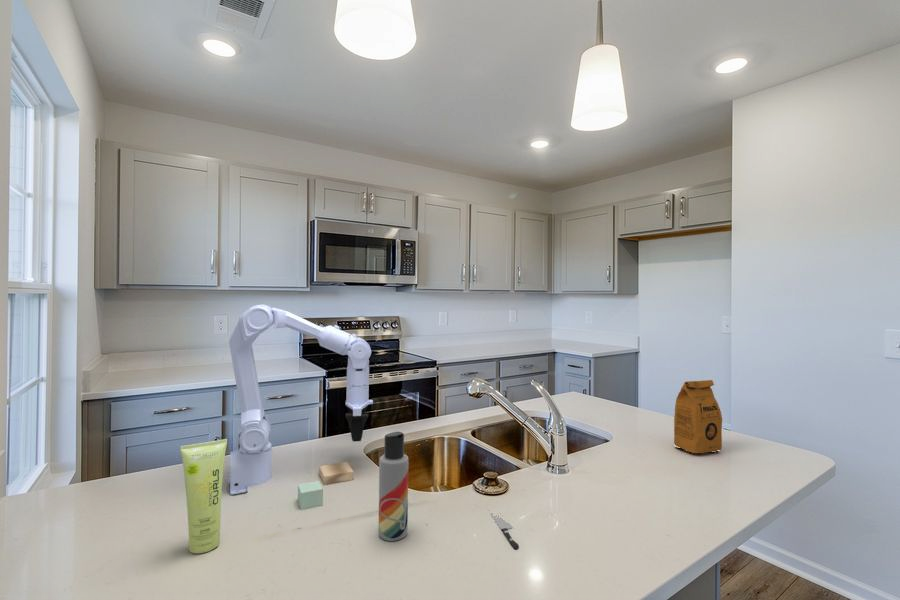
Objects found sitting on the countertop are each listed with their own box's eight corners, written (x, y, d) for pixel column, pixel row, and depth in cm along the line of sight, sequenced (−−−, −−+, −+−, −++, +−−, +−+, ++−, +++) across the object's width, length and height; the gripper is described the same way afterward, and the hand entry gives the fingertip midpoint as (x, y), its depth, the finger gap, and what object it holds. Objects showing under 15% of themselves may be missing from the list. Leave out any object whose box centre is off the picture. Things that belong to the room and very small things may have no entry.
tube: (200, 559, 76) (201, 449, 76) (178, 553, 77) (179, 445, 77) (226, 541, 81) (227, 438, 81) (205, 536, 83) (206, 435, 83)
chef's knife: (494, 503, 99) (482, 503, 99) (494, 498, 99) (482, 498, 99) (528, 550, 81) (513, 551, 80) (529, 544, 81) (514, 545, 80)
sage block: (300, 516, 91) (301, 493, 91) (297, 507, 95) (298, 484, 95) (322, 511, 93) (322, 488, 93) (318, 502, 97) (319, 480, 97)
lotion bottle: (395, 545, 81) (396, 439, 81) (372, 535, 84) (373, 434, 84) (413, 531, 86) (414, 431, 86) (391, 523, 89) (392, 426, 89)
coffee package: (727, 455, 131) (729, 382, 130) (693, 458, 128) (695, 384, 127) (701, 443, 140) (702, 376, 140) (669, 446, 137) (670, 377, 137)
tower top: (324, 484, 103) (324, 476, 103) (318, 474, 109) (318, 466, 109) (353, 479, 106) (353, 471, 106) (346, 469, 112) (346, 461, 112)
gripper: (374, 390, 107) (373, 444, 107) (372, 378, 121) (371, 426, 121) (344, 390, 105) (343, 446, 105) (346, 379, 119) (345, 427, 119)
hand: (356, 436), depth 113 cm, fingers open, 7 cm apart
